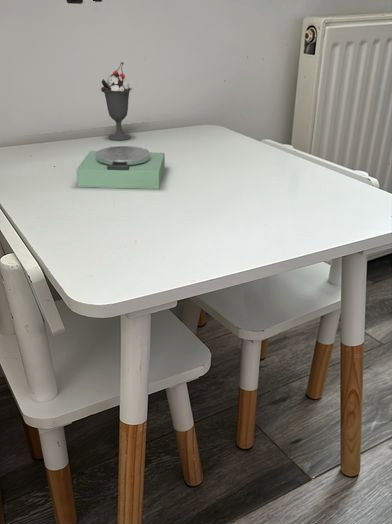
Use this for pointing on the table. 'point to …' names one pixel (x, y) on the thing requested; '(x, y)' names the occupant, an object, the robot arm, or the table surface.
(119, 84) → the sundae
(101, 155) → the scale pan
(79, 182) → the scale
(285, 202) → the table surface
